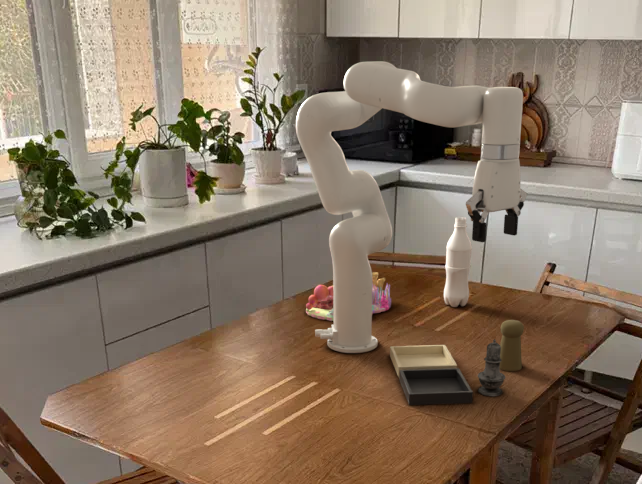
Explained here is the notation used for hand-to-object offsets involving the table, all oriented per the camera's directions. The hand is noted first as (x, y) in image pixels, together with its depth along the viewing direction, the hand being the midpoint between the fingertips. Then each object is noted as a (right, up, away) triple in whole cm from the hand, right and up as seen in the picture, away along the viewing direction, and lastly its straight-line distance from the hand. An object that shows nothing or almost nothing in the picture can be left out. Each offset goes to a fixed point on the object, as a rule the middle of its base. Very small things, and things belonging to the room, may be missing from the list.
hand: (494, 237), depth 163 cm
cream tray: (-13, -26, +20) cm, 35 cm away
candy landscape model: (-29, -9, +61) cm, 68 cm away
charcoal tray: (-12, -32, +6) cm, 35 cm away
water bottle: (+2, -8, +63) cm, 64 cm away
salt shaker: (0, -32, +6) cm, 33 cm away
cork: (+7, -27, +19) cm, 34 cm away
